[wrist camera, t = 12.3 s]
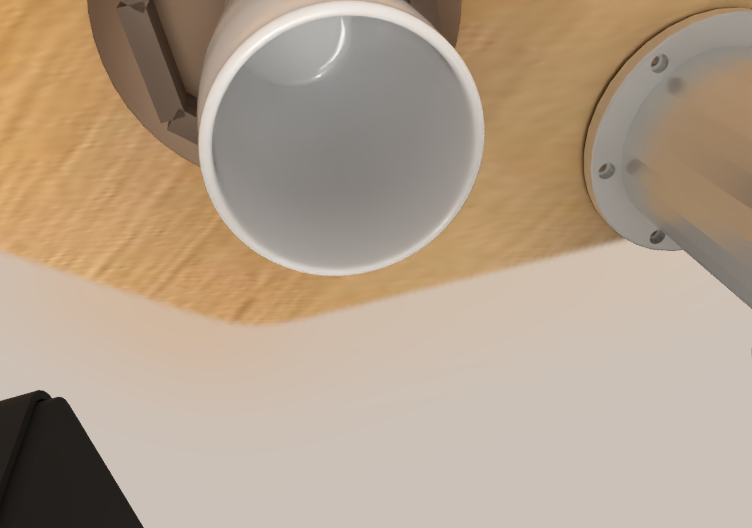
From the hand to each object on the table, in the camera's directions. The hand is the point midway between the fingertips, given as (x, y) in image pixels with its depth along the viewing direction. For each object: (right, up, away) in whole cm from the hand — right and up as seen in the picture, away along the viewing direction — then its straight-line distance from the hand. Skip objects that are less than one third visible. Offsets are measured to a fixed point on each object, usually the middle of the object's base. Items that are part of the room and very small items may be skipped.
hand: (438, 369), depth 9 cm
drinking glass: (-4, +11, +19) cm, 23 cm away
